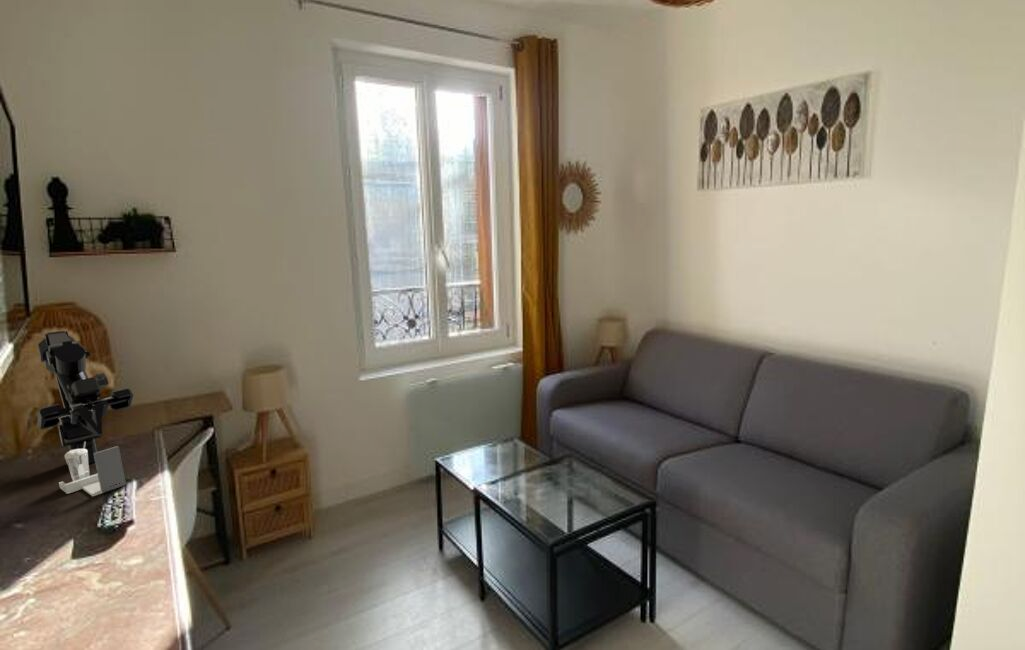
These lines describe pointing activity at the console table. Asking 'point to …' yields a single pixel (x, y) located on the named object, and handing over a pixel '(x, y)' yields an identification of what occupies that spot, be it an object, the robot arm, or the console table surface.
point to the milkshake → (78, 463)
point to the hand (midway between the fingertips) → (100, 434)
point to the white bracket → (100, 474)
